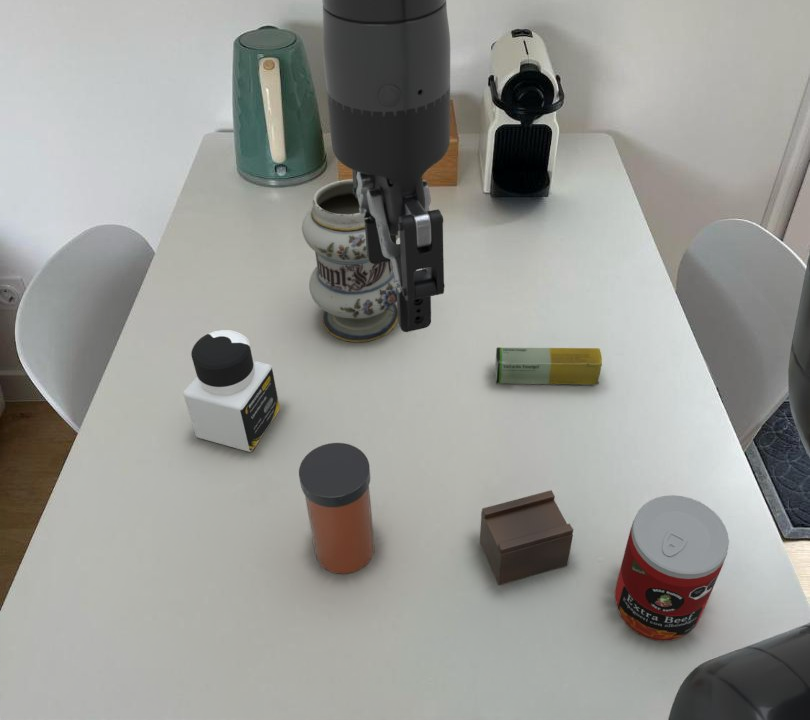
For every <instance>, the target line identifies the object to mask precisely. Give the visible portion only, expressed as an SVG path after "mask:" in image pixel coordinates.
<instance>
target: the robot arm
mask: <svg viewBox="0 0 810 720" xmlns="http://www.w3.org/2000/svg"><path fill="white" fill-rule="evenodd" d="M321 3H322V37H321V38H322V39H321V41H322V42H321V45H322V46H321V47H322V48H321V49H322V58H323V59H322V60H323V68H324V69H323V70H324V79H325V90H326V100H327V108H328V109H327V110H328V119H329V120H328V121H329V128H330V139H331V140H330V142H331V148H332V149H331V150H332V152H333V154H334V156H335V158H336V160H338V161H339V162H340V163H341V164H342V165H344V166H345V167H347V168H349V169H350V170H352V171H351V172H352V173H351V174H352V179H353V187H354V188H353V194H354V195H355V197H356V199H358V201H359V205H360V207H359V211H360V214H361V215H362V217H363V218H367V219H364V222H365V235H366V248H367V257H368V259H369V261H370V262H371V263H372V264H377V263H382V262H387V261H391V262H392V267H393V272H394V277H395V287H396V289H397V302H396V306H397V311H398V322H397V324H398V326H399V328H400V330H401V332H403V333H408V332H413V331H419V330H423V329H426V328H428V327H429V326H430V325H431V323H432V300H431V299H432V297H433V296H439V295H443V294H444V293H445V287H446V286H445V267H444V266H445V262H444V216H443V214H442V212H441V210H440V209H438V208H437V209H433V210H430V205H431V202H432V197H431V193H430V192H431V191H430V187H429V183H428V181H427V179H423V176H424V175H425V173H426V172H428V170H429V169H430V168H431V167H433V166H434V165H435V164H438V163H439V162H440V161H441V160H442V159H443V158H444V157H445V156H446V154H447V152H448V149H449V147H450V142H451V141H450V139H451V138H450V137H451V135H450V134H451V130H450V129H451V33H450V24H449V18H448V9H447V7H448V6H447V0H321ZM396 235H398V236H399V237H398V239H399V243H397V240H396ZM800 293H801V294H800V298H799V304H798V309H797V314H796V320H795V324H794V325H795V326H794V331H793V335H792V340H791V345H790V352H789V360H788V369H787V370H788V371H787V373H788V374H787V375H788V376H787V377H788V378H787V386H788V388H787V389H788V402H789V408H790V412H791V416H792V419H793V423H794V426H795V428H796V431H797V433H798V436H799V438H800V441H801V443H802V445H803V448H804V450H805V452H806V454H807V456H808V459H810V250H809V254H808V257H807V262H806V267H805V273H804V279H803V284H802V288H801V292H800ZM667 720H810V621H809V622H807V623H806V624H803V625H800V626H797V627H795V628H793V629H790V630H787V631H785V632H782V633H778V634H777V635H773V636H771V637H769V638H766V639H763V640H760V641H758V642H755V643H752V644H749V645H747V646H744V647H742V648H739V649H736V650H733V651H730V652H727V653H725V654H722V655H720V656H719V655H718V656H717V657H714V658H712V659H709V660H707V661H704V662H702V663H700V664H699V665H698V666H697V667H695V668H693V670H692V671H690V673H688V674H687V676H686V677H685V679H684V680H683V682H682V683H681V684H680V686H679V688H678V690H677V693H676V694H675V697H674V700H673V702H672V705H671V708H670V713H669V715H668V719H667Z"/></svg>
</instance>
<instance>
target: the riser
mask: <svg viewBox="0 0 810 720" xmlns="http://www.w3.org/2000/svg"><path fill="white" fill-rule="evenodd" d="M555 497H556V496H555V494H554V492H553V490H551V489H549V490H546V491H542V492H540V493H535V494H531V495H528V496H524V497H521V498H520V497H519V498H515V499H513V500H509V501H506V502H501V503H498V504H494V505H490V506H487V507H483V508H482V509H481V516H480V517H481V518H480V532H479V533H480V534H479V544H480V546H481V549H482V551H483V553H484V556H485V558H486V560H487V563H488V564H489V567H490V569H491V571H492V574H493V576H494V578H495V581H496V583H497V585H498V586H500V585H505V584H509V583H512V582H516V581H518V580H523V579H526V578H530V577H532V576H535V575H539V574H543V573H547V572H550V571H553V570H557V569H560V568H563V567H567V566H568V564H569V560H570V559H569V558H570V553H571V548H572V542H573V539H574V538H573V537H574V534H573V533H574V528H573V527H572V525H571V523H567V521H566V519H565V517H564V516H563V513H562V512H561V510H560V508H559V505H558V504H557V502H556V501H555Z"/></svg>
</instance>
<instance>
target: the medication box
mask: <svg viewBox="0 0 810 720" xmlns="http://www.w3.org/2000/svg"><path fill="white" fill-rule="evenodd" d="M494 364H495V365H494V381H495V384H496V385H498V384H515V385H516V384H524V385H525V384H527V385H594V386H595V385H600V381H599V379H600V374H601V370H602V366H603V357H602V352H601V349H600V348H599V347H499V346H498V347H496V349H495V363H494Z"/></svg>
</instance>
